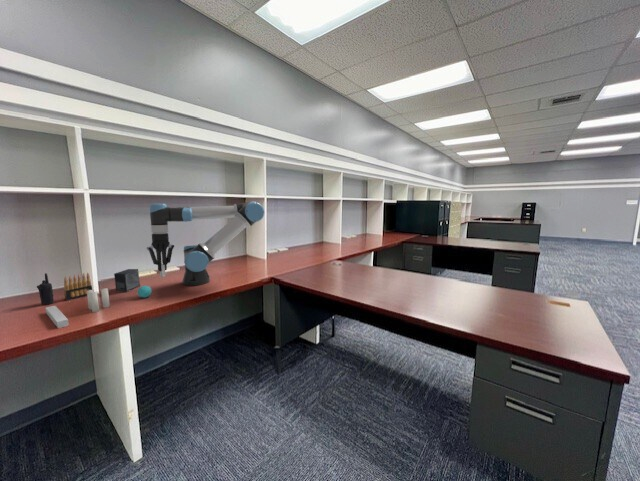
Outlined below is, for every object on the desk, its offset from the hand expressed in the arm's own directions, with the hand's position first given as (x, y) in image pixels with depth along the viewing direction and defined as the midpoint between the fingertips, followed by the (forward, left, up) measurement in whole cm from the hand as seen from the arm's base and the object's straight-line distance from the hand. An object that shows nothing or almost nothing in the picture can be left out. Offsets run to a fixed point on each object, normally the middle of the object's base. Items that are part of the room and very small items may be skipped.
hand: (162, 276), depth 141 cm
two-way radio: (+41, -27, -9) cm, 50 cm away
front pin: (+25, 0, -9) cm, 27 cm away
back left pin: (+30, +3, -9) cm, 31 cm away
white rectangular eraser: (+42, 0, -9) cm, 43 cm away
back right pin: (+30, -2, -9) cm, 31 cm away
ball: (+9, 0, -6) cm, 11 cm away
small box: (+9, -23, -9) cm, 26 cm away
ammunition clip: (+29, -27, -9) cm, 41 cm away
